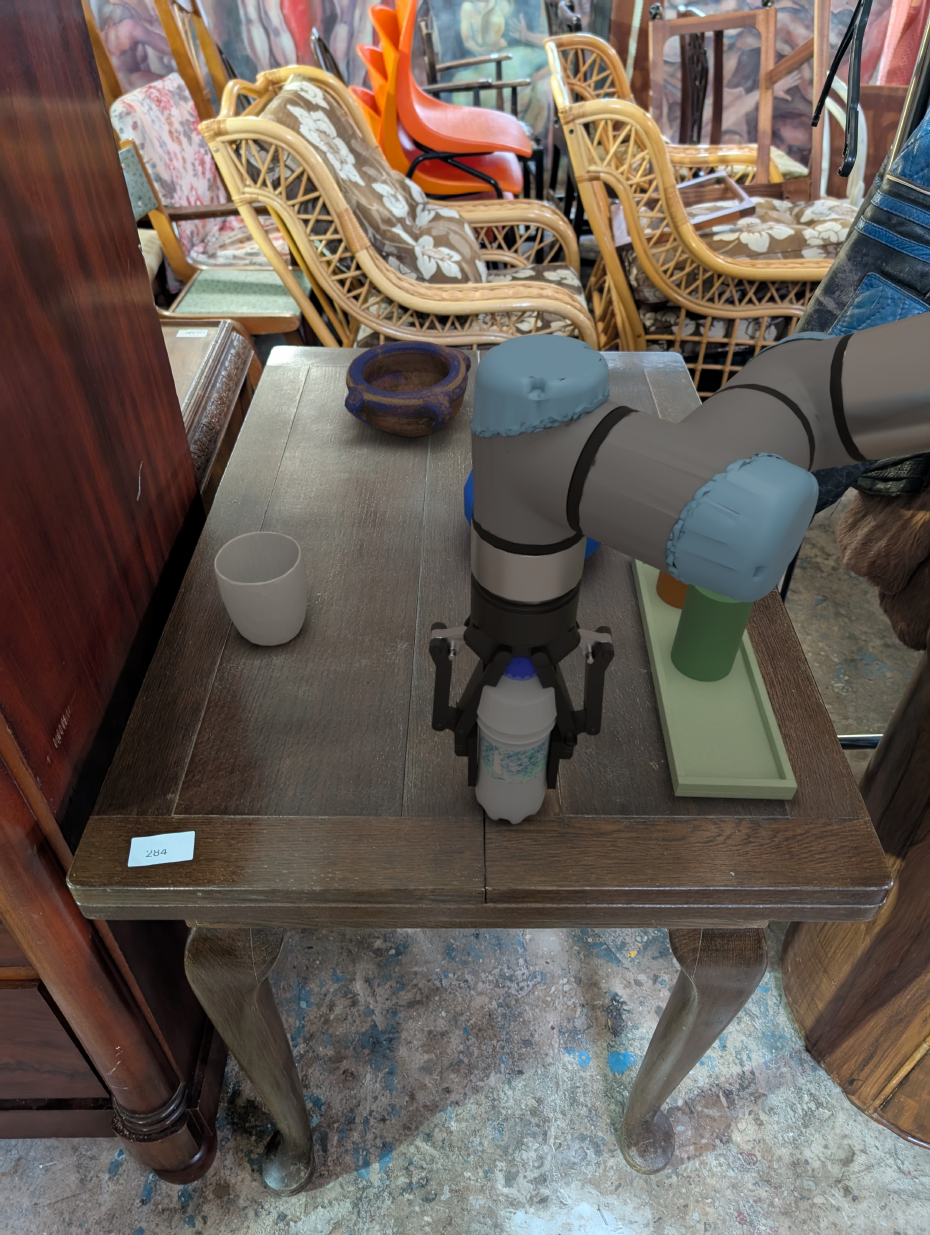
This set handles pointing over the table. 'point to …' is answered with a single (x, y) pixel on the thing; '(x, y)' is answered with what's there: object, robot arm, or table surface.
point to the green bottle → (708, 634)
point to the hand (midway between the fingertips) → (511, 774)
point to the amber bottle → (671, 590)
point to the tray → (712, 714)
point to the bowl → (407, 386)
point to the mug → (263, 586)
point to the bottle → (514, 743)
